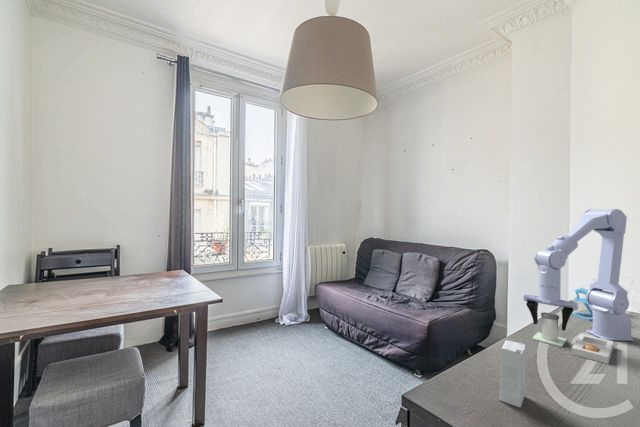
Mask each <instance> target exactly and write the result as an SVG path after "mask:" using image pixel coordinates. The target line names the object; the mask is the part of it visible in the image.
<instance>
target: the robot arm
mask: <svg viewBox="0 0 640 427" xmlns="http://www.w3.org/2000/svg"><path fill="white" fill-rule="evenodd" d="M627 219H628V217H627V215H626V214H625V213H624V212H623V211H622V210H621V209H619V208H614V209H591V208H590V209H589V208H588V209H586V210H585V211H584V213H582V214H580V220H579V221H578V222H577V223H576V224H575V225H574V227H573V228H572V229H571V230H570V231H569V232H568V233H567V234H562V235H558V236H557V237H556V240H554V241H553V242H552V243H551V244H550V245H548V246H547V247H546V248H545V249H541V250H539V251H538V252H536V255H535V257H534V263H535V264H536V265H537V270H538V272H539V273H538V277H539V278H538V295H533V294H523V297H522V298H523V302H526V307H527V309H528V310H529V312H530V314H531V317H532V321H533V325H538V322H539V319H538V308H539V304H541V305H542V304H543V305H548V306H554V307H557V308H558V307H559V308H562V309H561V317H562V318H561V320H562V322H561V331H562V332H563V331H564V332H565V331H566V329H567V325H568V322H569V320H570V317H571V316H572V315H571V314H572V313H574V311H578V310H579V303H577V302H572V301H568V300H564V299H561V276H562V275H561V269H562V268H564V267H565V265H566V263H567V260H568V256H570V255H571V254H572V252H574V251H575V250H576V249H577V248H578V247H579V243H578V242H579V241H580V240H582V239H583V238H584V237H585V236H587V235H588V234H590V233H591V232H592V231H593V232H596V233H598V234H599V235H600V236H601V247H600V248H601V249H600V254H599V263H598V273H597V280H595V282H594V281H593V282H592V283H590V284H589V287H590V288H589V291H588V292H587V295H586V300H587V302H588V303H589V304H590V305H591V308H593V311H592V312H593V316H592V317H593V321H592V329H586V330H585V331H586V333H589V334H591V335H592V336H594V337H595V336H596V338H601V339H605V340H610V341H624V342H625V341H627V342H628V341H630V342H632V341H633V342H634V338H632V320H631V317H630V315H629V314H628V313H626V311H627V310H628V309H629V306H630V302H629V298H628V291H627V290H626V289H625V288H624V287H622V286H621V285H620V275H621V274H620V273H621V267H622V266H621V264H622V254H623V248H624V240H625V238H624V237H625V234H626V228H627V221H628V220H627Z"/></svg>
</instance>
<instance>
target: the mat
mask: <svg viewBox="0 0 640 427" xmlns="http://www.w3.org/2000/svg"><path fill="white" fill-rule="evenodd" d="M531 340H532V341H535V342H536V341H537V342H539V341H540V343H543V342H544V343H543V344H548V345H551V346H555V347H559V348H563V347H564V345H565V344H566V343H567V341H568V339H567V338H565V337H560V336H558V341H548V340H545V339H543V338H542V332H539V331H538V332H536V333H535V334H534V336H533V337H531Z"/></svg>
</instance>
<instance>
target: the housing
mask: <svg viewBox="0 0 640 427" xmlns="http://www.w3.org/2000/svg"><path fill="white" fill-rule="evenodd" d="M585 344H591V345H594V346H597V352H594V351H591V350H587V349H585ZM613 350H614V340H605V339H601V338H599V337H597V336H596V337H595V336H593V335H587V334H583V333H580V334H579V335H578V337H577V338H576V340H575V342H574V344H573V345H572V347H571V355H573V356H577V357H581V358H583V359H584V358H585V359H588V360H592V361H596V362H599V363H603V364H605V365H606V364H607V365H610V364H609V363H610V360H611V357H612V354H613Z"/></svg>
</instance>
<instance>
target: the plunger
mask: <svg viewBox="0 0 640 427" xmlns="http://www.w3.org/2000/svg"><path fill="white" fill-rule="evenodd" d="M585 349H587V350H591V351H594V352H597V346H594V345H591V344H585Z"/></svg>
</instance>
